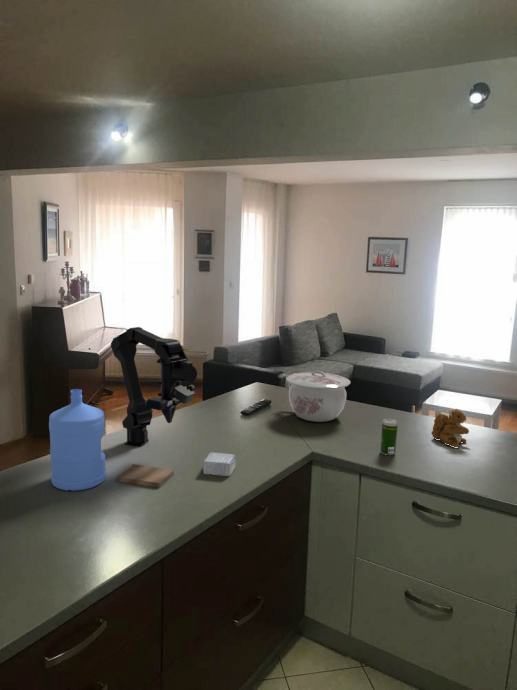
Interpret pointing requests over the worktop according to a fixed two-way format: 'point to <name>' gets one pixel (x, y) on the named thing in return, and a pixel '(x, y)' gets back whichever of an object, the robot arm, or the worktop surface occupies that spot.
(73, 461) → the water jug
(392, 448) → the beer can
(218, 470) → the medicine box
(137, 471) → the walnut cutting board
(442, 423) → the stuffed squirrel
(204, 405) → the worktop surface
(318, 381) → the chamber pot
